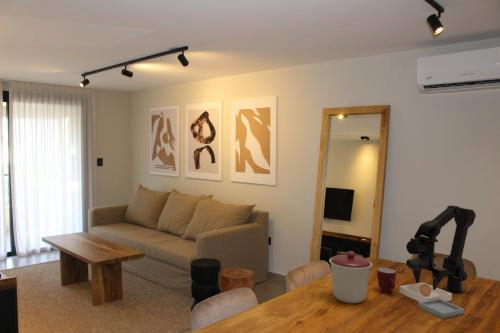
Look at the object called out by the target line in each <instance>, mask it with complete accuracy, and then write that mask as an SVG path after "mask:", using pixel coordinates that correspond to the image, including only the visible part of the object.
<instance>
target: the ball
mask: <svg viewBox="0 0 500 333" xmlns="http://www.w3.org/2000/svg"><path fill="white" fill-rule="evenodd" d="M427 284H428V283H426V284H422V285H421V286H420V287H419V291H420V293H421V294H422V295H425V296H427V295H429V294H430V293H431V287H430V286H429V285H430V284H429V285H427Z"/></svg>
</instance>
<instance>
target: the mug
mask: <svg viewBox="0 0 500 333" xmlns="http://www.w3.org/2000/svg"><path fill="white" fill-rule="evenodd" d="M376 271H377V274H376V276H377V282H378V288H379V289H380V291H381V293H384V294H390V293H391V292H392V291H393V290H395V288H396V283H395V282H396V278H397V271H396V270H395V269H393V268H389V267H379V268H377V270H376Z"/></svg>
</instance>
